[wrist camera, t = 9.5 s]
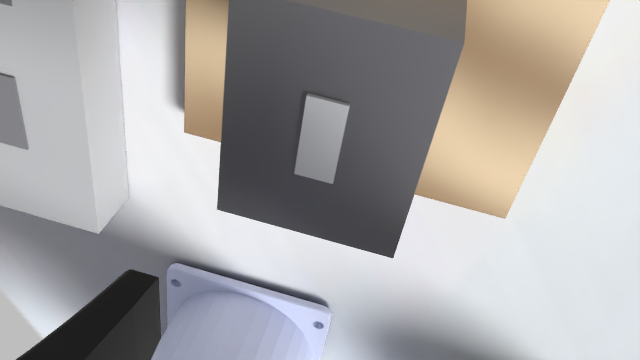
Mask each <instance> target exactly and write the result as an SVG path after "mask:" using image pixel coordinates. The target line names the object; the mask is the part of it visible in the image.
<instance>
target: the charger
mask: <svg viewBox="0 0 640 360" xmlns="http://www.w3.org/2000/svg"><path fill="white" fill-rule="evenodd" d="M466 12H467V0H229V8H228V25H227V43H226V61H225V79H224V97H223V115H222V133H221V151H220V169H219V186H218V204H217V210H221V211H224V212H228V213H232V214H235V215H239V216H242V217H246V218H250V219H253V220H257V221H260V222H264V223H268V224H271V225H275V226H278V227H282V228H286V229H289V230H293V231H297V232H300V233H304V234H307V235H311V236H315V237H318V238H322V239H325V240H329V241H333V242H336V243H340V244H343V245H347V246H351V247H354V248H358V249H361V250H365V251H369V252H372V253H376V254H379V255H383V256H387V257H390V258H393V257H394V254H395V251H396V248H397V245H398V242H399V239H400V236H401V233H402V230H403V227H404V224H405V221H406V218H407V215H408V212H409V209H410V206H411V203H412V200H413V197H414V193H415V190H416V187H417V184H418V181H419V178H420V175H421V172H422V169H423V166H424V163H425V160H426V157H427V154H428V151H429V148H430V145H431V142H432V139H433V136H434V133H435V130H436V127H437V124H438V121H439V118H440V115H441V112H442V109H443V106H444V103H445V100H446V97H447V94H448V91H449V88H450V85H451V82H452V79H453V76H454V73H455V70H456V67H457V64H458V61H459V58H460V55H461V52H462V49H463V46H464V42H465V27H466Z"/></svg>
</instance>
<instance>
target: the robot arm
mask: <svg viewBox="0 0 640 360" xmlns="http://www.w3.org/2000/svg"><path fill="white" fill-rule="evenodd" d="M331 318H332V312H331V310H330V309H329V308H327V307H326V306H323V305H320V304H317V303H313V302H310V301H306V300H303V299H299V298H296V297H293V296H289V295H286V294H282V293H279V292H275V291H272V290H269V289H265V288H262V287H258V286H255V285H251V284H248V283H244V282H241V281H238V280H234V279H231V278H227V277H224V276H220V275H217V274H214V273H210V272H207V271H203V270H200V269H196V268H193V267H189V266H186V265H183V264H179V263H174V264H171V265H170V266H169V268H168V270H167V329H166V331H165V333H164V335H163V336H162V338H161V328H160V302H159V278H158V277H155V276H151V275H148V274H145V273H141V272H138V271H135V270H131V269H130V270H128V271H126V272H125V273H124V274H123V275H121V276H120V277H119V278H118V279H117V280H116V281H114V282H113V283H112V284H111V285H110V286H109V287H107V288H106V289H105V290H104V291H103V292H102V293H100V294H99V295H98V296H97V297H96V298H94V299H93V300H92V301H91V302H90V303H88V304H87V305H86V306H85V307H83V308H82V309H81V310H80V311H79V312H77V313H76V314H75V315H74V316H72V317H71V318H70V319H69V320H67V321H66V322H65V323H64V324H62V325H61V326H60V327H58V328H57V329H56V330H55V331H53V332H52V333H51V334H49V335H48V336H47V337H45V338H44V339H43V340H42V341H40V342H39V343H38V344H36V345H35V346H34V347H32V348H31V349H30V350H29V351H27V352H26V353H24V354H23V355H22V356H20V357H19V358H17V359H16V360H320V359H321V355H322V351H323V348H324V344H325V340H326V336H327V333H328V329H329V325H330V321H331ZM318 321H319V322H318ZM160 339H161V340H160ZM159 341H160V342H159Z"/></svg>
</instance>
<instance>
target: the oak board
mask: <svg viewBox="0 0 640 360" xmlns="http://www.w3.org/2000/svg"><path fill="white" fill-rule="evenodd" d="M609 1H610V0H467V12H466V27H465V42H464V46H463V49H462V52H461V55H460V58H459V61H458V64H457V67H456V70H455V73H454V76H453V79H452V82H451V85H450V88H449V91H448V94H447V97H446V100H445V103H444V106H443V109H442V112H441V115H440V118H439V121H438V124H437V127H436V130H435V133H434V136H433V139H432V142H431V145H430V148H429V151H428V154H427V157H426V160H425V163H424V166H423V169H422V172H421V175H420V178H419V181H418V184H417V187H416V190H415V193H414V194H415V195H419V196H423V197H427V198H430V199H434V200H438V201H441V202H445V203H449V204H453V205H456V206H460V207H464V208H467V209H471V210H475V211H479V212H482V213H486V214H490V215H494V216H497V217H501V218H506V216H507V214H508V212H509V210H510V208H511V205H512V203H513V201H514V199H515V197H516V195H517V193H518V191H519V189H520V187H521V185H522V183H523V180H524V178H525V176H526V174H527V172H528V170H529V168H530V166H531V164H532V162H533V160H534V158H535V155H536V153H537V151H538V149H539V147H540V145H541V143H542V141H543V139H544V137H545V135H546V133H547V130H548V128H549V126H550V124H551V122H552V120H553V118H554V116H555V114H556V112H557V110H558V108H559V105H560V103H561V101H562V99H563V97H564V95H565V93H566V91H567V89H568V87H569V85H570V83H571V80H572V78H573V76H574V74H575V72H576V70H577V68H578V66H579V64H580V62H581V60H582V58H583V55H584V53H585V51H586V49H587V47H588V45H589V43H590V41H591V39H592V37H593V35H594V33H595V30H596V28H597V26H598V24H599V22H600V20H601V18H602V16H603V14H604V12H605V10H606V8H607V5H608V3H609ZM228 8H229V0H186V29H185V116H184V132H185V133H189V134H192V135H196V136H200V137H203V138H207V139H211V140H215V141H218V142H221V133H222V115H223V97H224V79H225V61H226V43H227V25H228Z"/></svg>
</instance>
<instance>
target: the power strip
mask: <svg viewBox="0 0 640 360" xmlns="http://www.w3.org/2000/svg"><path fill="white" fill-rule="evenodd" d="M128 198H129V191H128V176H127V161H126V146H125V130H124V115H123V100H122V85H121V69H120V54H119V39H118V24H117V9H116V0H0V206H3V207H7V208H10V209H14V210H17V211H21V212H24V213H28V214H31V215H34V216H38V217H41V218H45V219H48V220H52V221H55V222H59V223H62V224H66V225H69V226H72V227H76V228H79V229H83V230H86V231H90V232H93V233H97V234H99V233H100V232H101V231H102V229H103V228H104V227H105V226H106V225H107V223H108V222H109V221H110V220H111V219H112V217H113V216H114V215H115V214H116V213H117V211H118V210H119V209H120V208H121V207H122V205H123V204H124V203H125V202H126V201H127V199H128Z"/></svg>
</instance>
